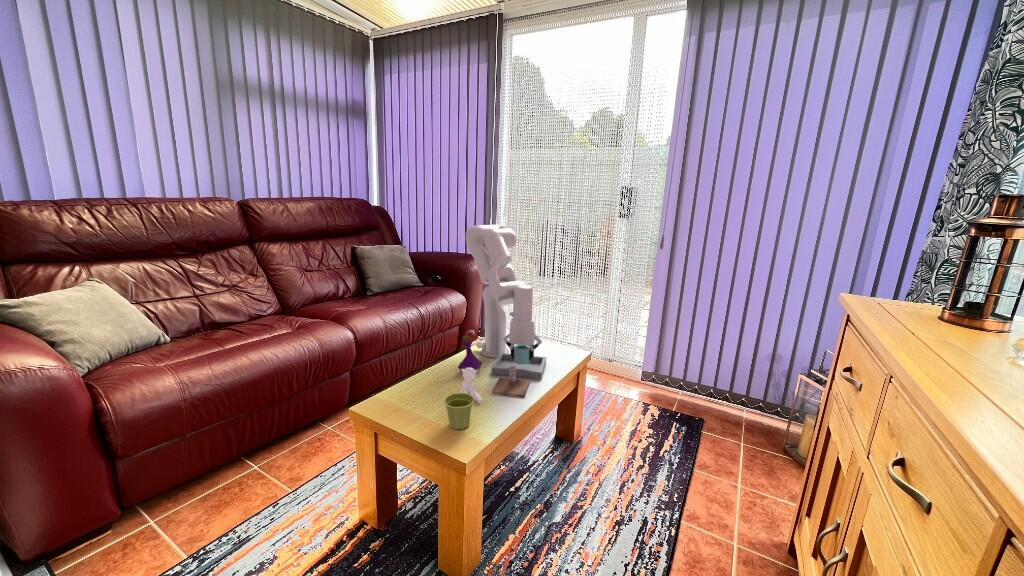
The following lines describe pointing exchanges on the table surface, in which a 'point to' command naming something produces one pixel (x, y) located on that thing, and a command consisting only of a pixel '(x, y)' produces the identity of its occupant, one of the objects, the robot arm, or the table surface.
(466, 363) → the perfume bottle
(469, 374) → the seated beast figurine
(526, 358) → the ring
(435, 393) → the table surface
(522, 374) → the tray
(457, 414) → the plant pot
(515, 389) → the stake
